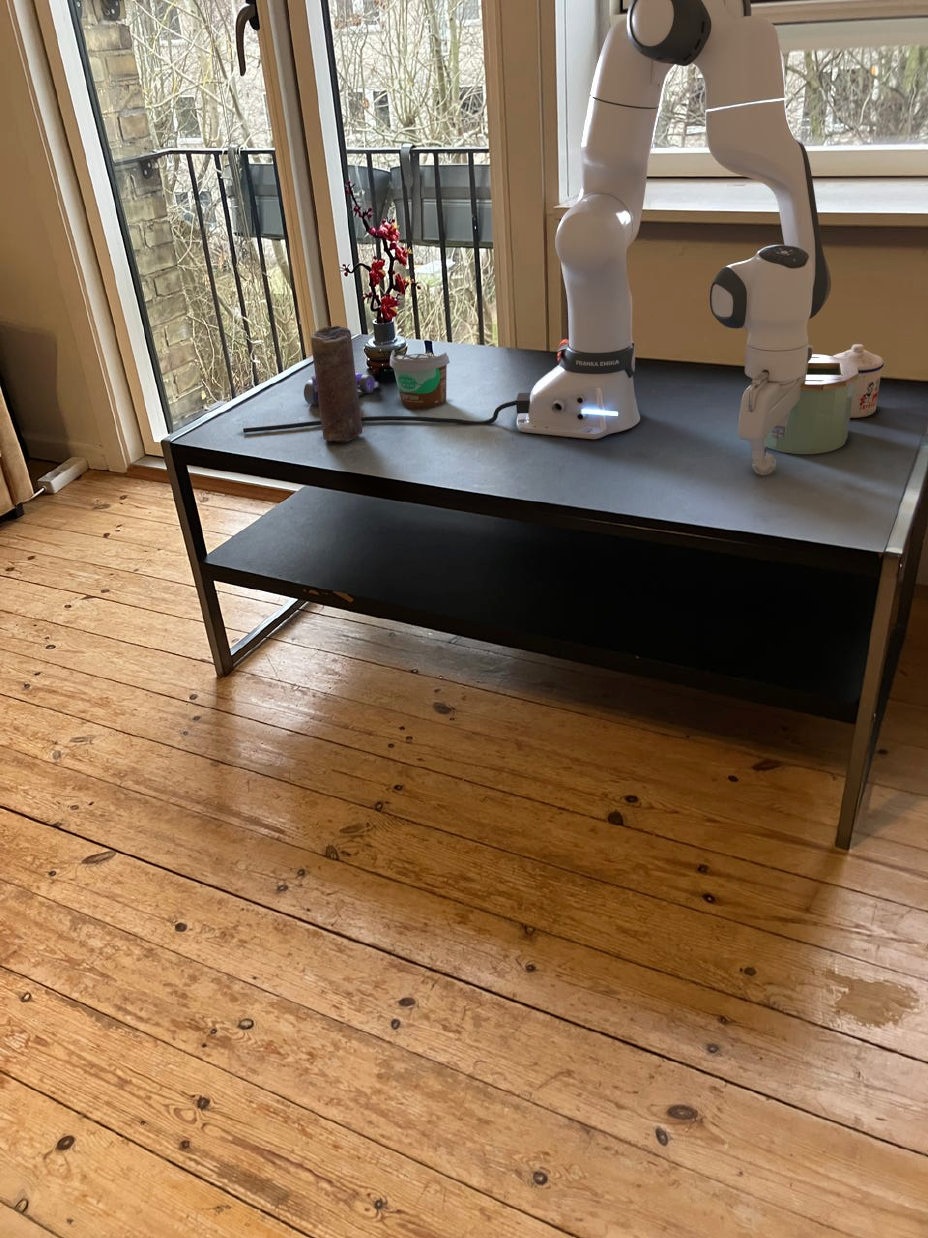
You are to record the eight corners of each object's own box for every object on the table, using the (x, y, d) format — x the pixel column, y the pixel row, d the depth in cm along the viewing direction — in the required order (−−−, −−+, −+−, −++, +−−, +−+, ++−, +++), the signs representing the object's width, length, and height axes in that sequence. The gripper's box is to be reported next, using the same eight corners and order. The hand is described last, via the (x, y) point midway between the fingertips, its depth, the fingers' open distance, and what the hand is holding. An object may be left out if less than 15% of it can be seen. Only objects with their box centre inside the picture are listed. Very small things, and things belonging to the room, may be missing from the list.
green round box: (756, 453, 167) (761, 388, 161) (758, 421, 179) (762, 360, 173) (848, 455, 163) (857, 390, 158) (843, 422, 175) (851, 360, 169)
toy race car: (384, 387, 210) (380, 356, 207) (344, 412, 199) (339, 380, 196) (346, 383, 214) (342, 353, 211) (305, 407, 203) (300, 375, 200)
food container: (383, 408, 199) (377, 359, 194) (397, 398, 204) (391, 349, 199) (441, 412, 195) (436, 362, 189) (453, 401, 199) (448, 352, 194)
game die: (756, 466, 163) (757, 449, 161) (778, 470, 161) (780, 452, 159) (747, 474, 160) (749, 457, 159) (770, 478, 158) (772, 460, 157)
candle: (370, 432, 189) (356, 325, 178) (354, 447, 183) (339, 338, 172) (334, 430, 191) (318, 325, 181) (317, 445, 185) (299, 337, 175)
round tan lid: (759, 389, 161) (759, 383, 161) (760, 359, 173) (760, 353, 173) (860, 390, 157) (860, 384, 157) (854, 360, 169) (855, 354, 169)
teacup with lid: (867, 422, 174) (877, 355, 168) (815, 414, 179) (822, 349, 173) (888, 399, 183) (897, 336, 176) (837, 393, 187) (845, 330, 181)
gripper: (773, 385, 142) (765, 475, 150) (816, 343, 157) (808, 428, 164) (730, 380, 146) (725, 469, 153) (776, 340, 160) (770, 423, 167)
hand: (768, 447), depth 158 cm, fingers open, 8 cm apart
